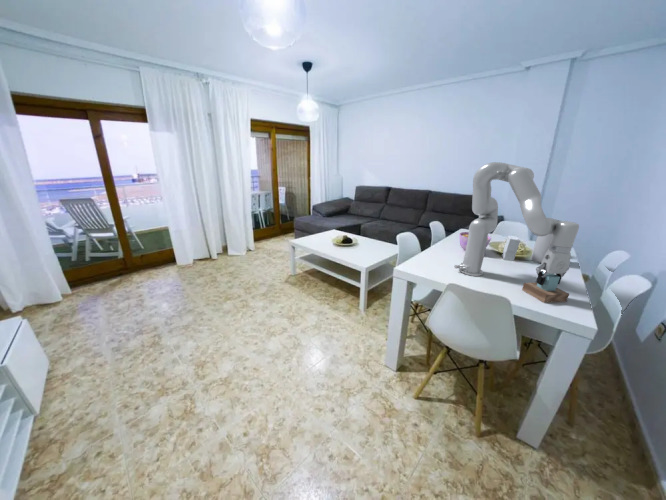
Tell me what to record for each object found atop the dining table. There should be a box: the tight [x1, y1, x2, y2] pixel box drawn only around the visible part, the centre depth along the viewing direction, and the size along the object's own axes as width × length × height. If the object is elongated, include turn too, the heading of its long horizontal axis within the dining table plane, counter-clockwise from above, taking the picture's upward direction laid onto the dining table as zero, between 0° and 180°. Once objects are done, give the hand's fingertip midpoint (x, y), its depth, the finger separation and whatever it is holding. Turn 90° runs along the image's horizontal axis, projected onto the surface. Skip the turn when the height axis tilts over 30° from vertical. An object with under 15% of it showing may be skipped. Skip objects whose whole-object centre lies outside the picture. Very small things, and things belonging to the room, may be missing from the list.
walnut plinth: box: [521, 282, 570, 304], centre depth 121 cm, size 12×12×4 cm
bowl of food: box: [459, 231, 492, 251], centre depth 179 cm, size 20×20×12 cm
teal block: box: [537, 272, 560, 291], centre depth 119 cm, size 5×5×7 cm
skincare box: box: [501, 235, 521, 262], centre depth 166 cm, size 8×6×15 cm
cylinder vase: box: [530, 234, 553, 264], centre depth 161 cm, size 12×12×25 cm
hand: (547, 283), depth 119 cm, fingers open, 8 cm apart
